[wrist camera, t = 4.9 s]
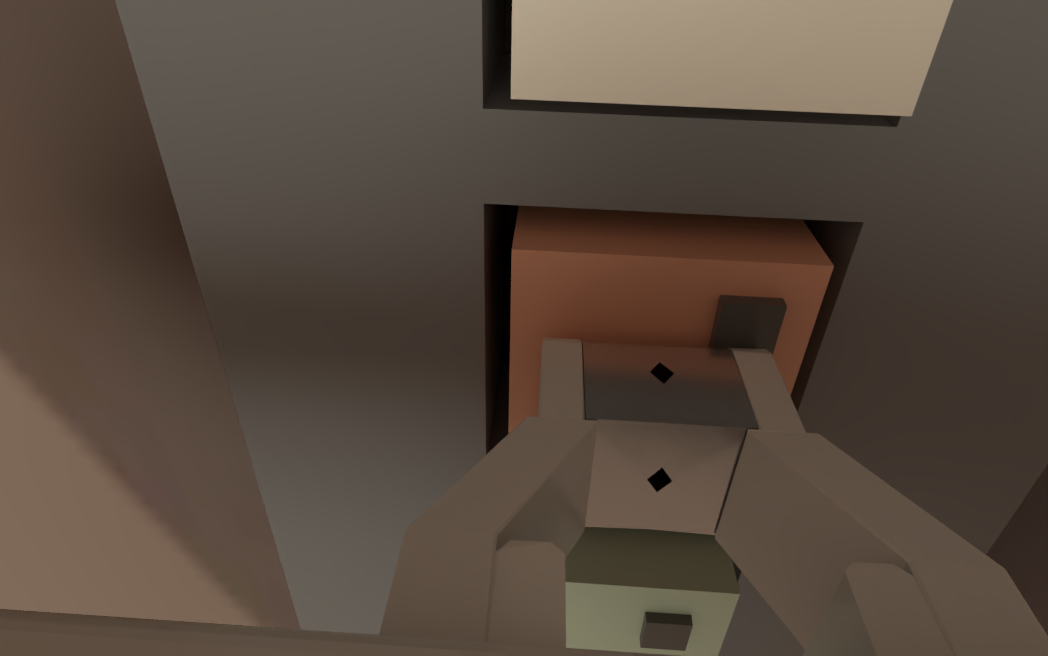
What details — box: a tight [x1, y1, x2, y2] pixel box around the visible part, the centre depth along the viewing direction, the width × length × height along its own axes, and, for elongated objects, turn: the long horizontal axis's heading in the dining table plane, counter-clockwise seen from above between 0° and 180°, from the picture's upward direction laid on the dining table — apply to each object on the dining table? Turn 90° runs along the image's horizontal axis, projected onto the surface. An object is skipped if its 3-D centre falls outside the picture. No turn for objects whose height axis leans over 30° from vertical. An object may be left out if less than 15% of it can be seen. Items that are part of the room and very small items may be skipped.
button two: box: [565, 527, 740, 656], centre depth 13 cm, size 4×4×3 cm
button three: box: [508, 205, 834, 434], centre depth 10 cm, size 4×4×3 cm
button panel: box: [115, 0, 1048, 656], centre depth 11 cm, size 13×19×3 cm
